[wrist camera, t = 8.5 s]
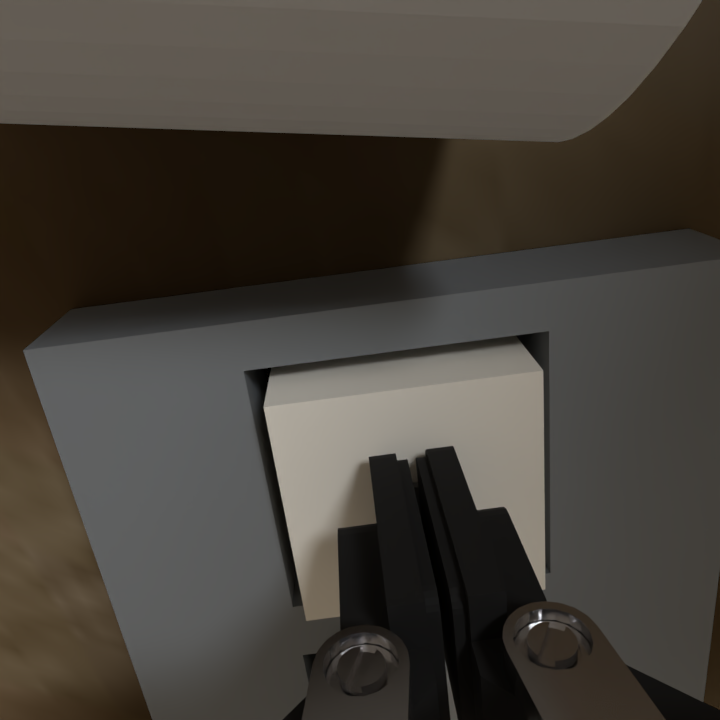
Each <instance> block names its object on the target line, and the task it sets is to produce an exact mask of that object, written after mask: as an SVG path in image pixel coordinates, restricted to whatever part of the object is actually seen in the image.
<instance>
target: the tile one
mask: <svg viewBox="0 0 720 720" xmlns="http://www.w3.org/2000/svg"><path fill="white" fill-rule="evenodd" d="M264 412H265V417H266V422H267V427H268V432H269V437H270V442H271V447H272V452H273V457H274V462H275V467H276V472H277V477H278V482H279V487H280V492H281V497H282V502H283V507H284V512H285V517H286V522H287V527H288V532H289V537H290V542H291V547H292V552H293V557H294V562H295V567H296V572H297V577H298V582H299V587H300V592H301V597H302V602H303V607H304V612H305V617H306V621H310V620H317V619H325V618H333V617H340V601H339V567H338V528H344V527H352V526H359V525H367V524H375V523H377V522H376V514H375V506H374V497H373V489H372V481H371V473H370V464H369V457H371V456H378V455H386V454H394V453H396V457H397V460H404V459H407V460H408V464H409V468H410V472H411V477H412V481H413V486H414V490H415V494H416V499H417V503H418V508H419V512H420V517H421V508H420V498H419V488H418V478H417V468H416V458H420V457H425V450H426V449H432V448H439V447H447V446H453V447H454V449H455V451H456V454H457V457H458V460H459V462H460V465H461V468H462V471H463V473H464V476H465V479H466V482H467V484H468V487H469V490H470V493H471V495H472V498H473V501H474V503H475V506H476V509H477V510H482V509H489V508H497V507H505V508H506V509H507V511H508V513H509V515H510V517H511V520H512V522H513V524H514V527H515V529H516V531H517V533H518V536H519V538H520V540H521V543H522V545H523V547H524V549H525V552H526V554H527V556H528V559H529V561H530V563H531V565H532V568H533V570H534V572H535V575H536V577H537V579H538V581H539V584H540V586H541V588H542V590H545V492H544V386H543V369H542V368H541V367H540V366H539V364H538V363H537V362H536V361H535V359H534V358H533V357H532V356H531V354H530V353H529V352H528V351H527V349H526V348H525V347H524V345H523V344H522V343H521V342H520V340H519V339H518V338H517V337H516V335H515V336H508V337H500V338H492V339H485V340H477V341H469V342H462V343H454V344H446V345H439V346H431V347H424V348H416V349H408V350H401V351H393V352H385V353H378V354H370V355H362V356H355V357H347V358H339V359H332V360H324V361H317V362H309V363H301V364H294V365H286V366H278V367H271V371H270V376H269V381H268V387H267V392H266V397H265V402H264ZM421 521H422V518H421Z"/></svg>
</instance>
